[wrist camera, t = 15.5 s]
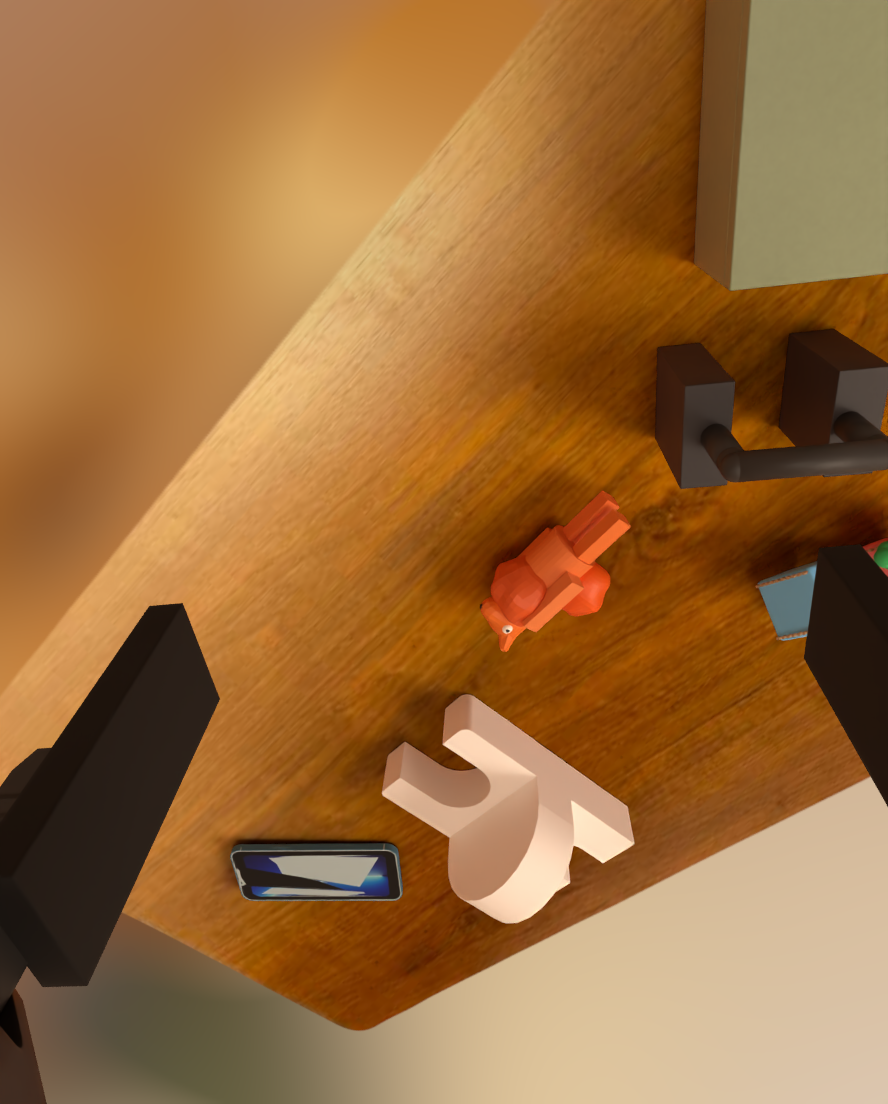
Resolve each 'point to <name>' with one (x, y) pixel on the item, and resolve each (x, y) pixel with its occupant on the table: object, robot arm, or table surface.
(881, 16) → the shelf
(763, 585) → the building blocks
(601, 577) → the orange toy bird
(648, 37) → the table surface
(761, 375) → the table surface
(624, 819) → the white thick notched block
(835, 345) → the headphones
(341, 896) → the smartphone
